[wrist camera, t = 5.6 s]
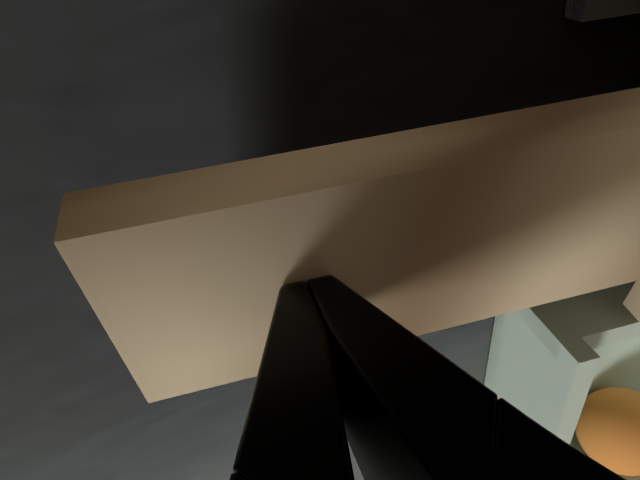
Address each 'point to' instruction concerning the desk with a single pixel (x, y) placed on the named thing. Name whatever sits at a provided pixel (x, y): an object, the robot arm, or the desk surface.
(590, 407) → the ball
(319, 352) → the robot arm
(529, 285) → the lever
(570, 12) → the silver support block
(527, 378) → the tray
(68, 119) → the desk surface
